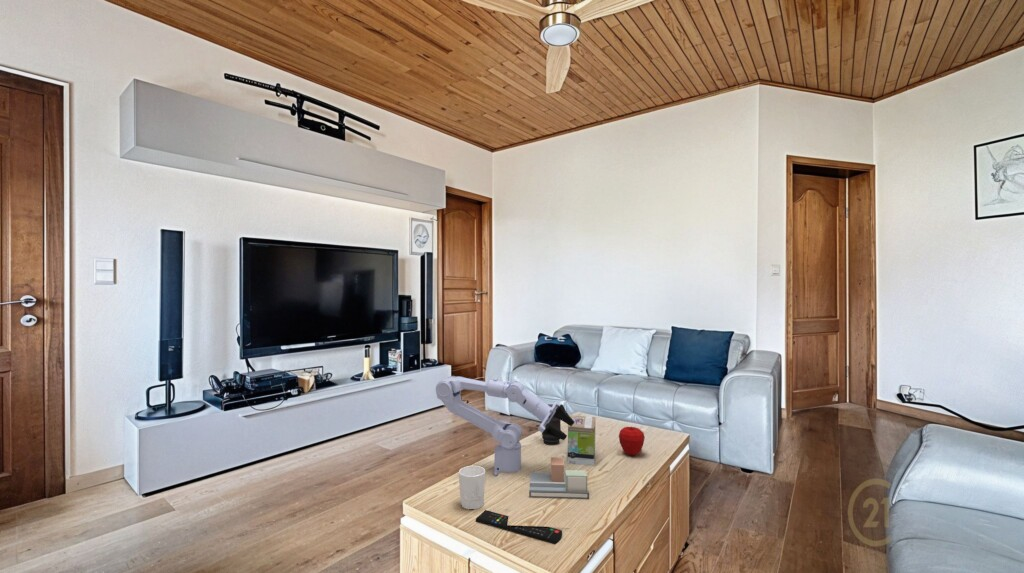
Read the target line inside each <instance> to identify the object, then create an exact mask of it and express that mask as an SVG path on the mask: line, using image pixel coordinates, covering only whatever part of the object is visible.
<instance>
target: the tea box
mask: <svg viewBox="0 0 1024 573" xmlns="http://www.w3.org/2000/svg"><path fill="white" fill-rule="evenodd" d="M569 416H570V417H571V418H572V419H573V421H574V424H573V425H572V426H570V425H568V424H567V425H568V426H567V455H566V456H567V463H566V464H570V465H582V466H595V461H596V460H595V459H596V458H595V457H596V417H595V416H584V415H569Z"/></svg>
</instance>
